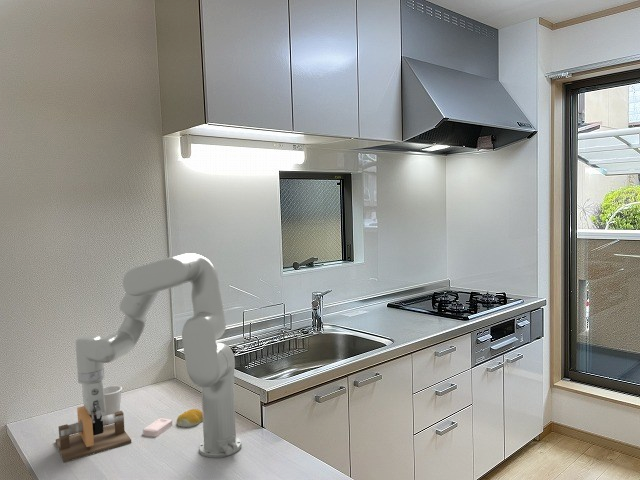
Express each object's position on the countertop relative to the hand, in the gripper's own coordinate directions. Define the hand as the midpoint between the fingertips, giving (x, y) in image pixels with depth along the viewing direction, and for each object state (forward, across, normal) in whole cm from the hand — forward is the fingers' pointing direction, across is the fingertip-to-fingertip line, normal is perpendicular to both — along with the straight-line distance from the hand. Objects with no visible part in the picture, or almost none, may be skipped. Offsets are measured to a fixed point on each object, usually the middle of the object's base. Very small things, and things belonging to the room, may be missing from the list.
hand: (94, 428), depth 156 cm
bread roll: (+5, -5, -29) cm, 30 cm away
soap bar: (+5, -4, -18) cm, 20 cm away
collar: (+2, 0, +3) cm, 4 cm away
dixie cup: (+5, +17, -8) cm, 20 cm away
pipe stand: (+4, 0, +1) cm, 4 cm away
